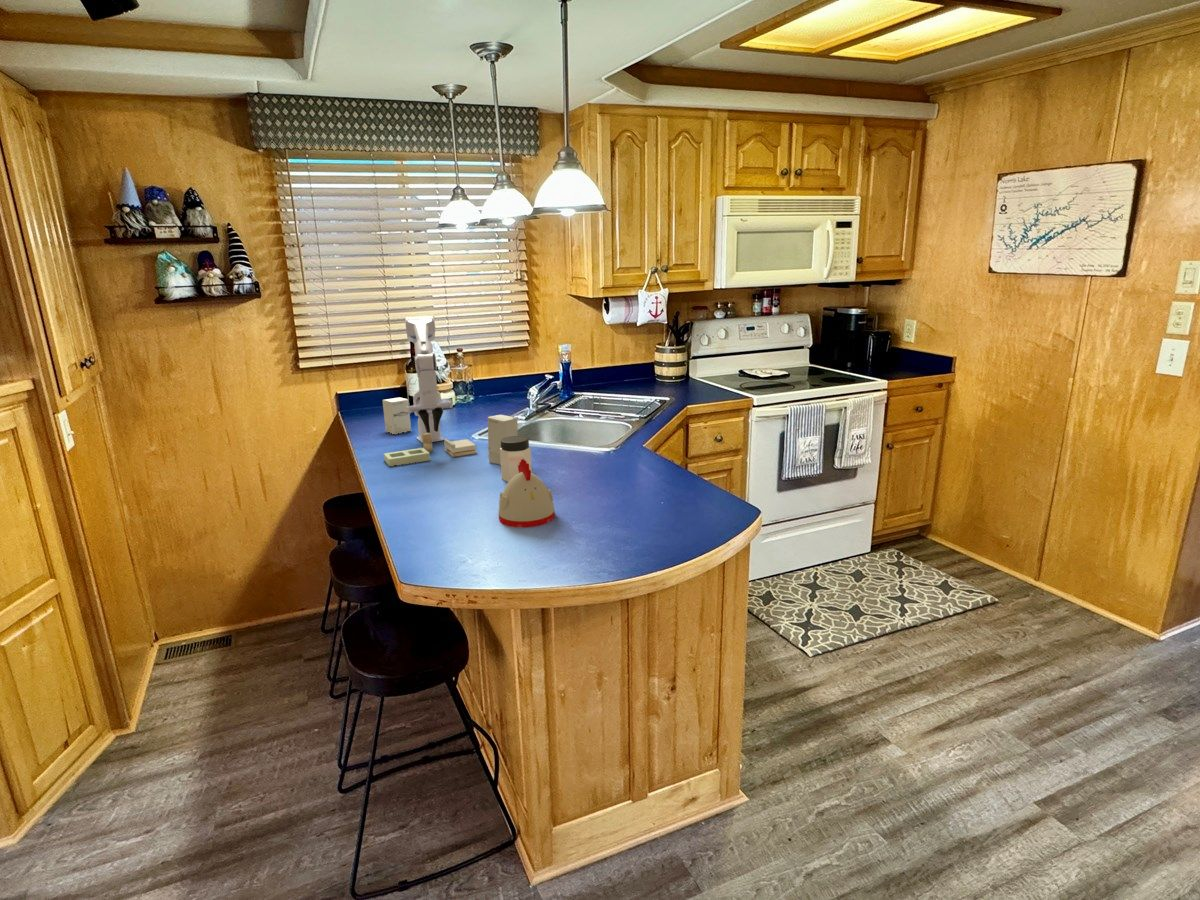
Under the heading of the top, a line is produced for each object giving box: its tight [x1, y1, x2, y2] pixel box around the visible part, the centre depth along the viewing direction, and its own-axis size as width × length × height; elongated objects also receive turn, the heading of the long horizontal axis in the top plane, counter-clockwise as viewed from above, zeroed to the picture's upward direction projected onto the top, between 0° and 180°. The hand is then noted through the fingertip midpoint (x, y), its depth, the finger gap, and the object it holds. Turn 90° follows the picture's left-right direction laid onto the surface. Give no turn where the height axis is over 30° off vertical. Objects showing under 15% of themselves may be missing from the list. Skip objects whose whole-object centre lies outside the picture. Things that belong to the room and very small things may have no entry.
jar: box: [500, 435, 533, 483], centre depth 204 cm, size 9×8×12 cm
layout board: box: [444, 447, 477, 458], centre depth 235 cm, size 9×8×1 cm
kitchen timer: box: [498, 459, 555, 529], centre depth 172 cm, size 14×14×15 cm
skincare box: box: [487, 414, 519, 466], centre depth 220 cm, size 8×6×15 cm
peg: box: [422, 433, 434, 453], centre depth 237 cm, size 3×3×6 cm
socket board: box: [383, 447, 431, 467], centre depth 227 cm, size 8×13×2 cm, turn 119°
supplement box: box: [382, 396, 412, 435], centre depth 264 cm, size 7×7×13 cm
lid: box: [443, 438, 477, 453], centre depth 234 cm, size 9×8×3 cm
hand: (432, 431), depth 229 cm, fingers open, 2 cm apart
